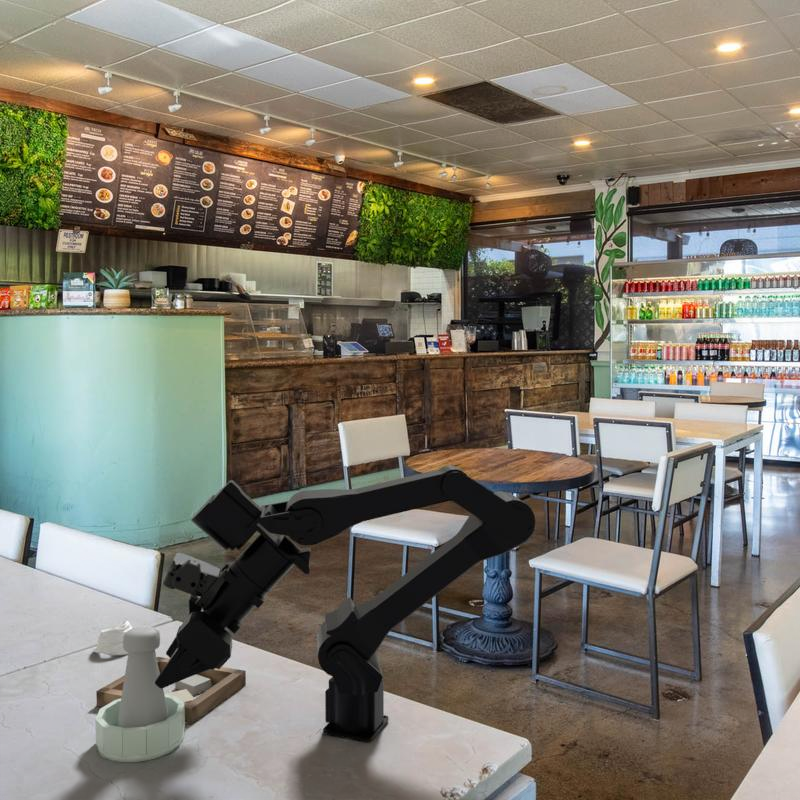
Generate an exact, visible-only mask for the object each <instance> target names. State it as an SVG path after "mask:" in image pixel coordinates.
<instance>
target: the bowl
mask: <svg viewBox="0 0 800 800" xmlns="http://www.w3.org/2000/svg"><path fill="white" fill-rule="evenodd" d="M164 695H165V699H166V704H167V708H168V715H167V719H166V720H165V721H162V722H159V723H155V724H152V725H149V726H145V727H131V728H122V727H120V726H119V723H118V716H119V709H120V703H121V699H117V700H114V701H113V702H111V703H109V704H108V705H106V706H104V707H101V708H99V710H98V713H97V714H96V717H95V721H94V722H95V744H96V746H97V753H98V754H99V755H100V756H101V757H102V758H104V759H106V760H109V761H112V762H116V763H117V762H118V763H138V762H145V761H150V760H154V759H157V758H160V757H162V756H165V755H167V754H169V753H171V752H173V751H174V750H176V749H177V748H178V747H180V745H181V744H182V743H183V742H184V739H185V727H186V725H185V724H186V723H185V709H184V702H182V701H181V700H180V699H178V698H177V697H176V696H172V695H167V694H166V693H164Z"/></svg>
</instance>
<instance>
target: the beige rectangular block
mask: <svg viewBox="0 0 800 800" xmlns="http://www.w3.org/2000/svg"><path fill="white" fill-rule="evenodd" d="M165 694H167V695H172V696H176V697H177V698H178V699H180V700H181V701H182V702H186V703H189V702H191V701H192V700H194V699H195V698H196V697H194V695H191V694H190V693H189V691H188V690H187V689H184V690H179V689H178V690H176V691H172V692H171V691H170V692H167V693H165Z"/></svg>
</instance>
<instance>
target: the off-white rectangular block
mask: <svg viewBox="0 0 800 800" xmlns="http://www.w3.org/2000/svg"><path fill="white" fill-rule="evenodd" d="M174 685H175V689H176V690H178V691H179V690H184V689H187V690H188V691H189V693H190V694H191V695H192V696H196V695H199V694H202V693H204V692H206V691H207V690H208V689H210V688H211V687H212V683H211V679H209V678H206V677H203V676H200V675H197V674H196V675H193V676H191V677H188V678H186V679H183V680H181V681H179V682H176V683H174Z"/></svg>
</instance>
